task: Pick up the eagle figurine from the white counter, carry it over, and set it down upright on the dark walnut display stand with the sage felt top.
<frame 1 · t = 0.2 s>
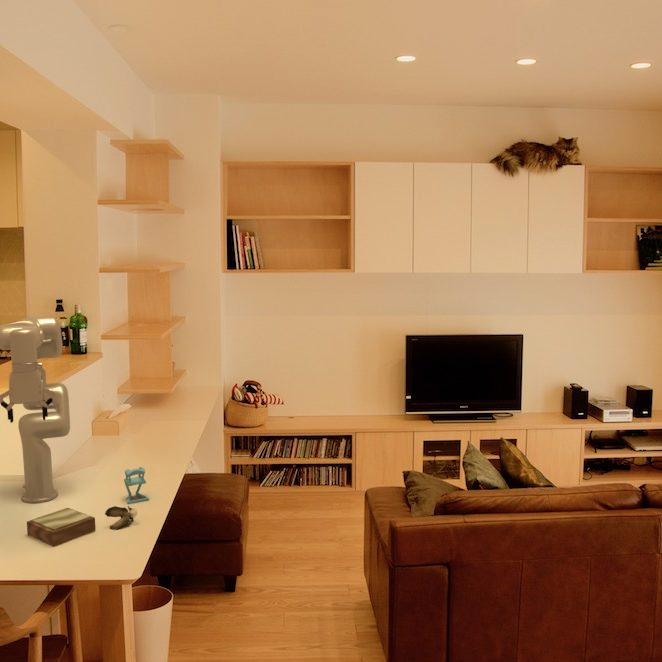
hand: (28, 420, 236), 37 cm above the table, tool pointing down, fingers open, 9 cm apart
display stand: (61, 532, 239), on the table
eagle figurine: (122, 525, 245), on the table
chair: (135, 499, 269), on the table
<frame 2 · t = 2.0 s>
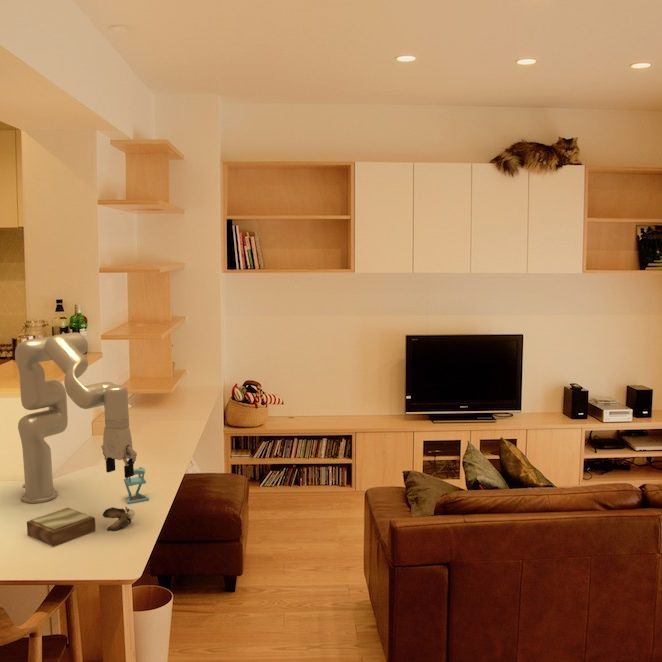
hand: (120, 474, 243), 17 cm above the table, tool pointing down, fingers open, 9 cm apart
eagle figurine: (119, 526, 244), on the table
everything else where it was.
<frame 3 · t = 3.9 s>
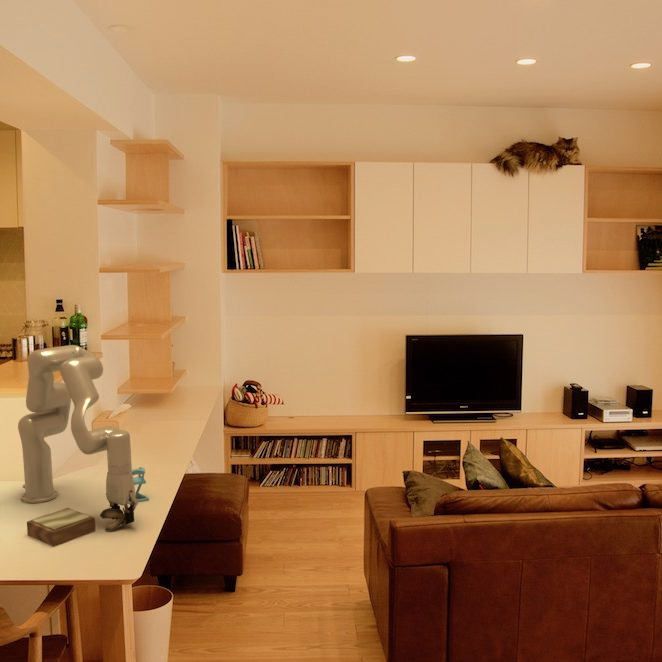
hand: (122, 520, 245), 2 cm above the table, tool pointing down, fingers closed on eagle figurine, 6 cm apart
eagle figurine: (117, 527, 244), on the table, touching gripper
everything else where it was.
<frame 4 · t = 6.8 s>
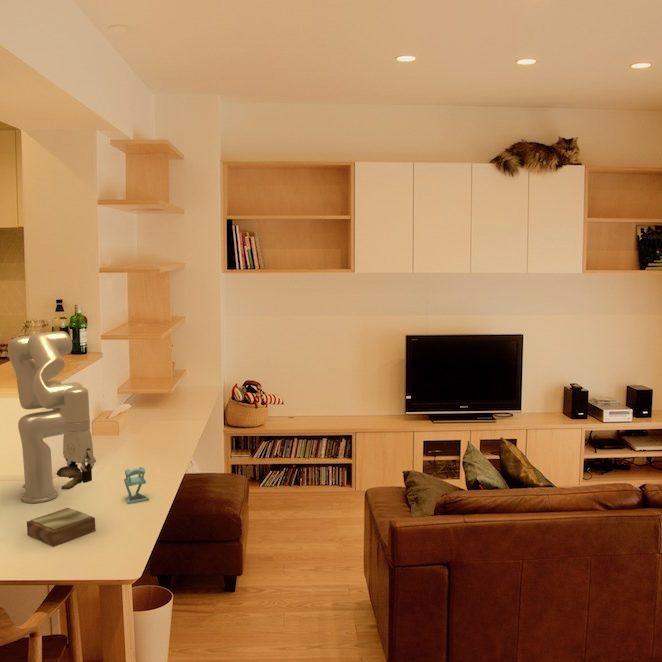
hand: (80, 478, 239), 17 cm above the table, tool pointing down, fingers closed on eagle figurine, 6 cm apart
eagle figurine: (74, 485, 238), point 15 cm above the table, touching gripper
everything else where it was.
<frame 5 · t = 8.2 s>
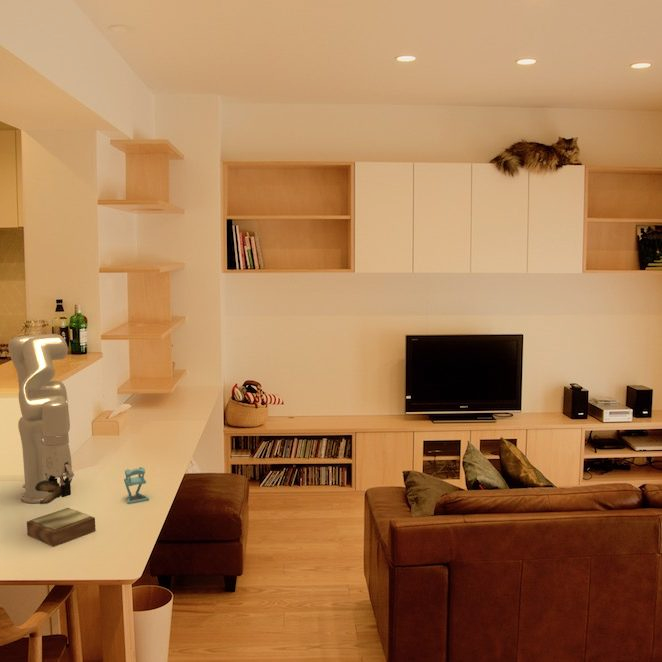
hand: (59, 493, 237), 13 cm above the table, tool pointing down, fingers closed on eagle figurine, 6 cm apart
eagle figurine: (53, 500, 236), point 12 cm above the table, touching gripper
everything else where it was.
when the fingers open (8 cm above the table, at t = 9.7 s): eagle figurine stays where it is, resting on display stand.
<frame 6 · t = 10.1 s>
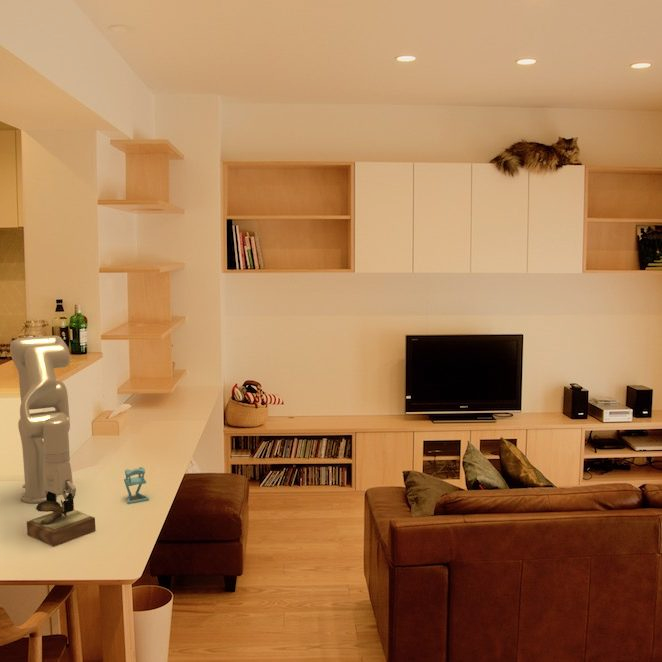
hand: (60, 508, 238), 8 cm above the table, tool pointing down, fingers open, 9 cm apart
eagle figurine: (54, 520, 237), point 5 cm above the table, touching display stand
everything else where it was.
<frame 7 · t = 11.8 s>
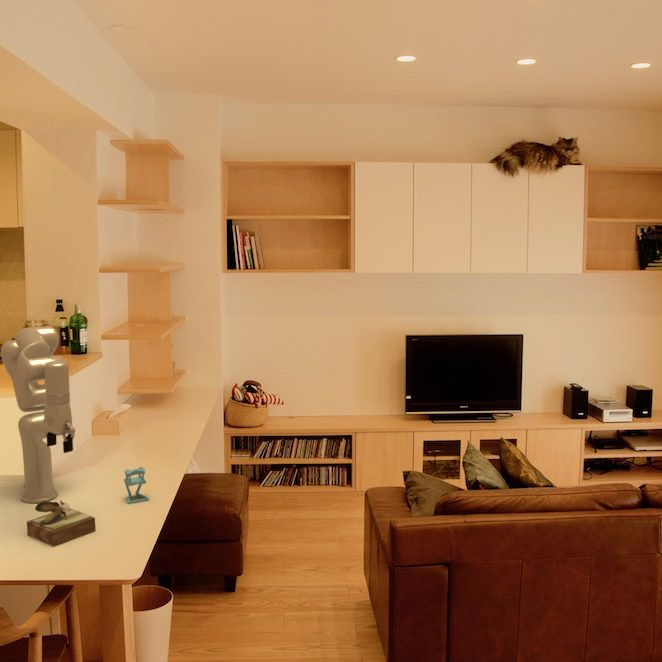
hand: (60, 448, 245), 25 cm above the table, tool pointing down, fingers open, 9 cm apart
nothing on the table moved.
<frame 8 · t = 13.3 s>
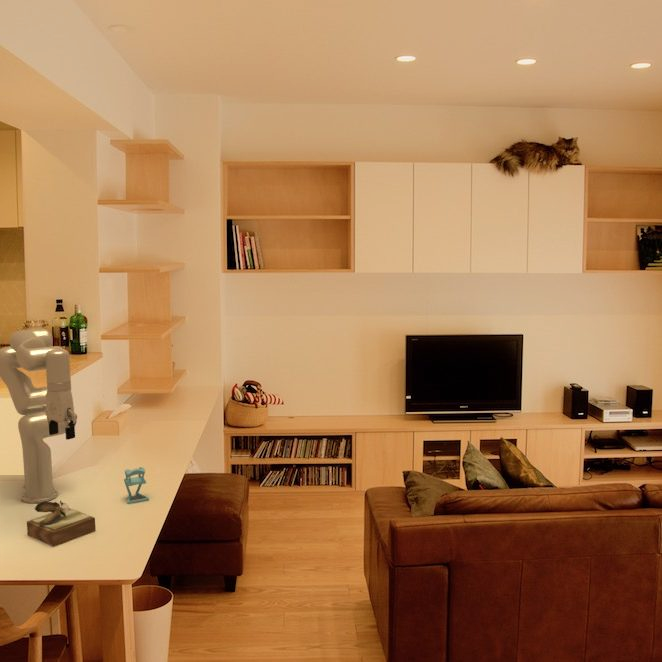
hand: (62, 436, 249), 28 cm above the table, tool pointing down, fingers open, 9 cm apart
nothing on the table moved.
at the end: eagle figurine inside the target area on the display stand (2.5 cm from its centre), point 4.8 cm above the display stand's base; eagle figurine tilted 2°; the gripper is holding nothing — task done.
